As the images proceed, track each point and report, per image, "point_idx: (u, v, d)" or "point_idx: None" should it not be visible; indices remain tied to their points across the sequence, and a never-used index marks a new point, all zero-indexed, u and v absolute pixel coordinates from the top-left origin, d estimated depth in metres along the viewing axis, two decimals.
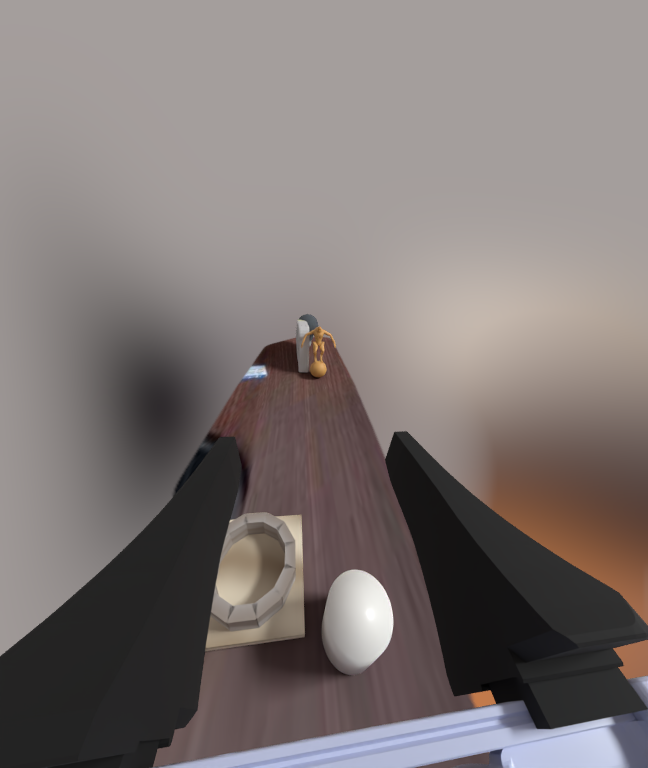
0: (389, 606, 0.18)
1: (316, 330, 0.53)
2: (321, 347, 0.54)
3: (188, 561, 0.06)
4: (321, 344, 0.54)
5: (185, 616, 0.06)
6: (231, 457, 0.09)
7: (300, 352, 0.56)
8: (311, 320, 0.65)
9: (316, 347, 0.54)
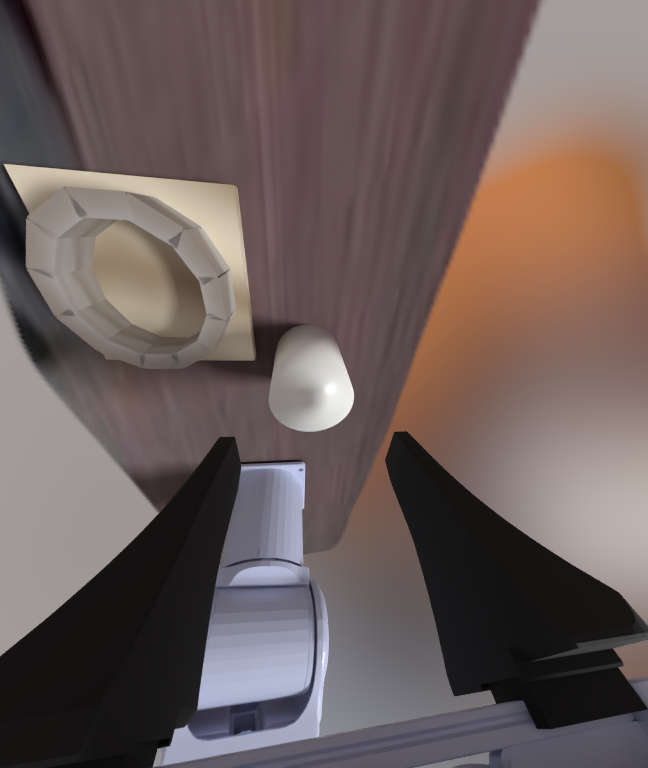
0: (351, 401, 0.14)
1: None
2: None
3: (188, 561, 0.06)
4: None
5: (185, 616, 0.06)
6: (231, 457, 0.09)
7: None
8: None
9: None
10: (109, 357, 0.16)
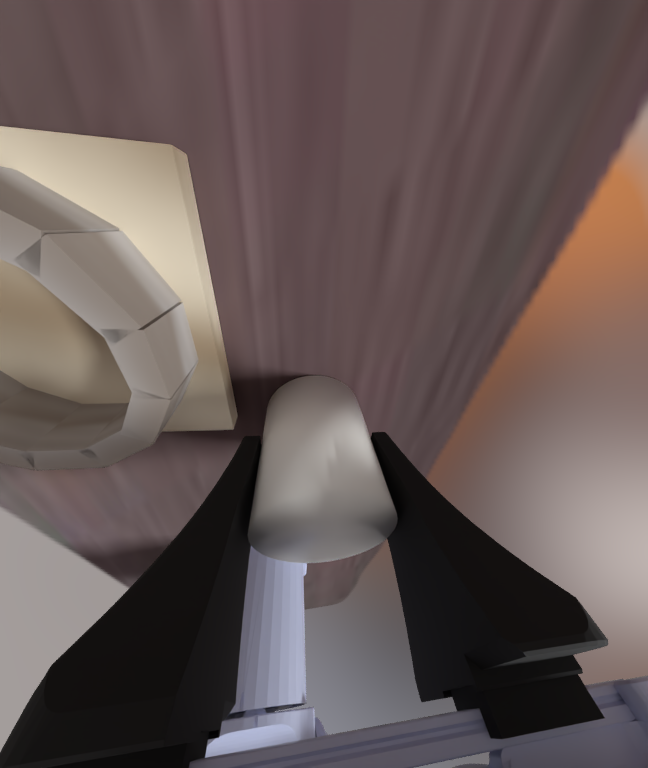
0: (391, 528, 0.08)
1: None
2: None
3: (229, 557, 0.06)
4: None
5: (228, 611, 0.06)
6: (258, 456, 0.09)
7: None
8: None
9: None
10: None
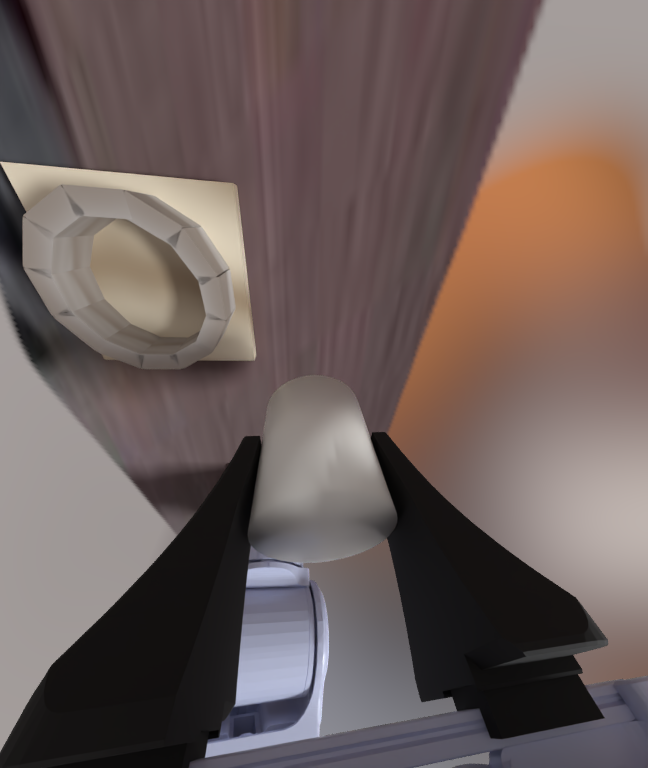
0: (391, 528, 0.08)
1: None
2: None
3: (229, 557, 0.06)
4: None
5: (228, 611, 0.06)
6: (258, 456, 0.09)
7: None
8: None
9: None
10: (108, 357, 0.16)
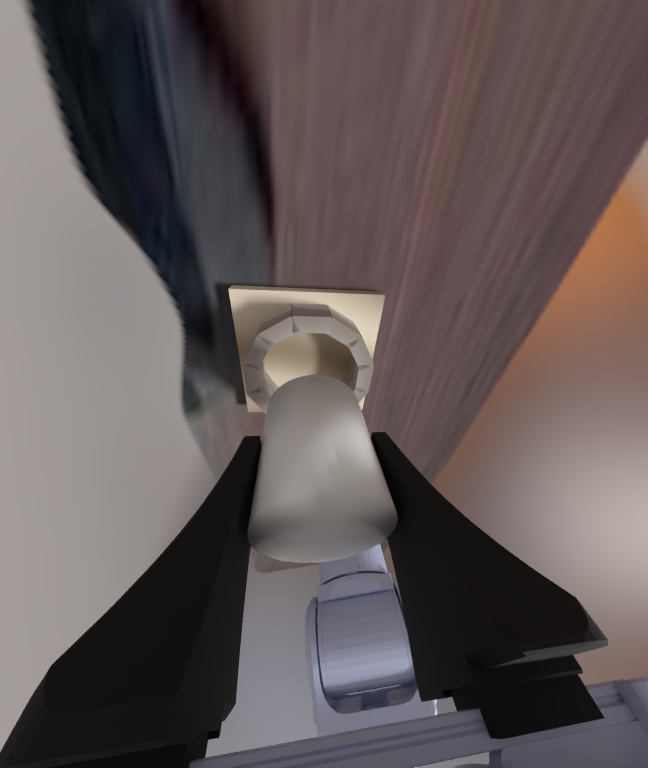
0: (391, 528, 0.08)
1: None
2: None
3: (229, 557, 0.06)
4: None
5: (227, 611, 0.06)
6: (258, 456, 0.09)
7: None
8: None
9: None
10: (251, 410, 0.20)
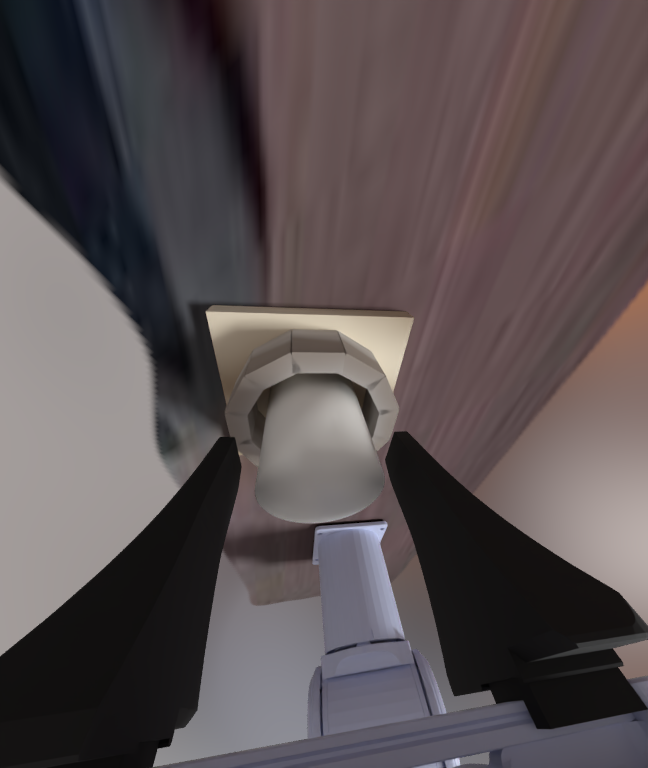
0: (380, 488, 0.09)
1: None
2: None
3: (188, 561, 0.06)
4: None
5: (185, 616, 0.06)
6: (231, 457, 0.09)
7: None
8: None
9: None
10: (241, 453, 0.16)
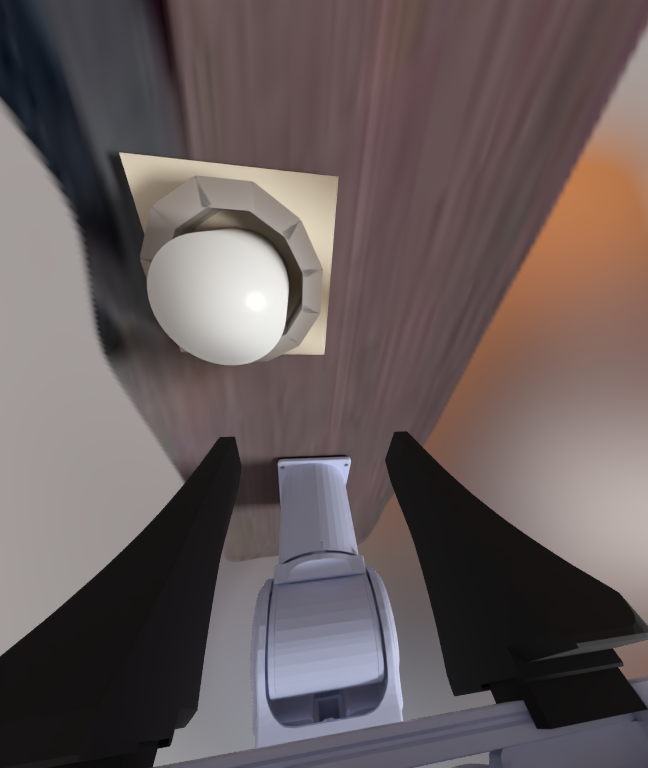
0: (282, 312, 0.09)
1: None
2: None
3: (188, 561, 0.06)
4: None
5: (185, 616, 0.06)
6: (232, 457, 0.09)
7: None
8: None
9: None
10: (184, 350, 0.16)
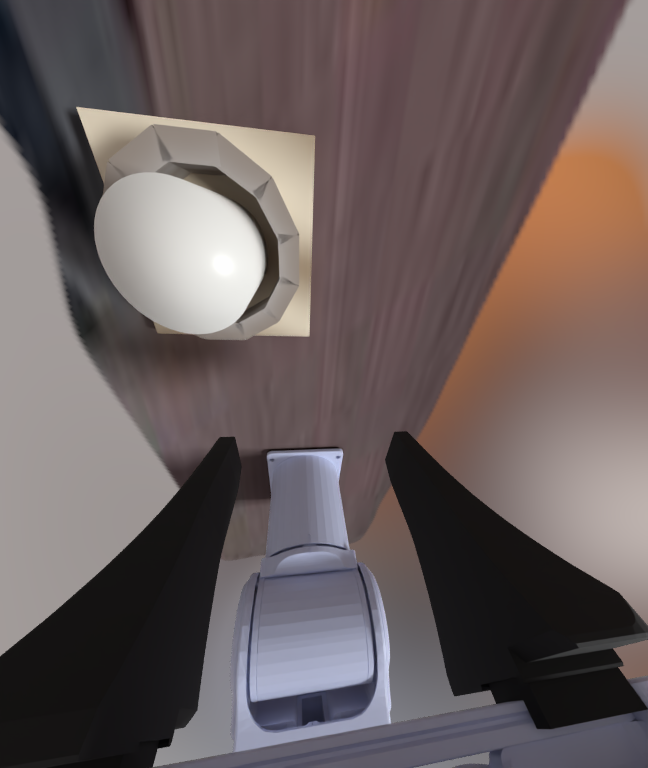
0: (249, 271, 0.08)
1: None
2: None
3: (188, 561, 0.06)
4: None
5: (185, 616, 0.06)
6: (231, 457, 0.09)
7: None
8: None
9: None
10: (161, 331, 0.15)
